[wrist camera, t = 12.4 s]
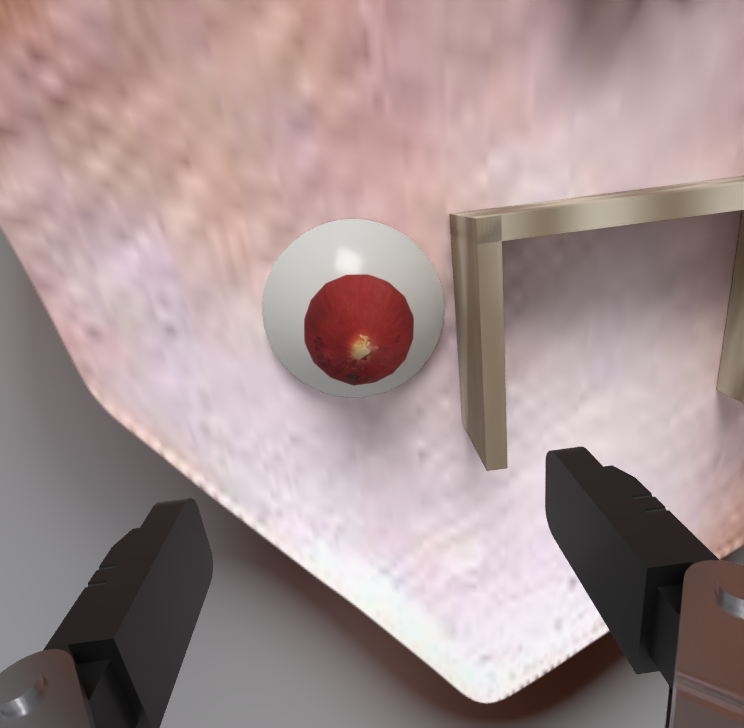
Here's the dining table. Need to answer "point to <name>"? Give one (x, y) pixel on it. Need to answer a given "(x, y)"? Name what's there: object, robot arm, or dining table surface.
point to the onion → (358, 329)
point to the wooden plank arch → (492, 226)
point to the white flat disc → (333, 260)
